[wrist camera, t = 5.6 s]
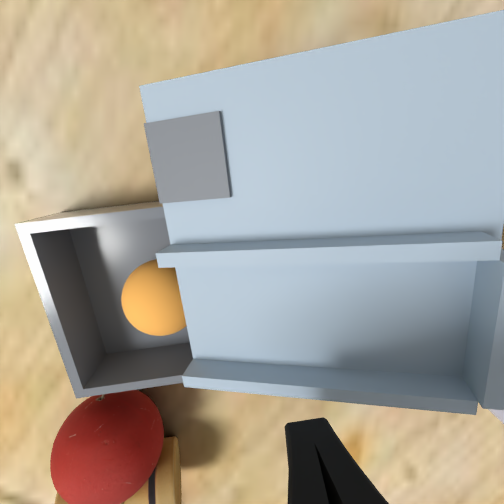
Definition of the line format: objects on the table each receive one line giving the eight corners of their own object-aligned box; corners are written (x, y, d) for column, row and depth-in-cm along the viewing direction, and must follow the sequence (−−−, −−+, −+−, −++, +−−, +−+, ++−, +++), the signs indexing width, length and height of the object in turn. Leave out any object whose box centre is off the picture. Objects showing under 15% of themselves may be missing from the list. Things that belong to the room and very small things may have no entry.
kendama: (209, 518, 25) (186, 371, 18) (188, 633, 20) (141, 486, 12) (127, 508, 26) (72, 364, 19) (84, 616, 20) (-19, 469, 13)
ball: (153, 248, 17) (209, 250, 15) (166, 308, 18) (219, 316, 16) (93, 272, 14) (157, 278, 12) (114, 344, 15) (174, 359, 13)
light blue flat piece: (517, 17, 8) (586, -33, 6) (468, 378, 12) (500, 426, 10) (151, 90, 11) (110, 74, 9) (201, 360, 15) (181, 393, 13)
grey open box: (229, 192, 16) (230, 198, 13) (248, 336, 19) (252, 372, 16) (60, 212, 16) (14, 223, 12) (103, 356, 18) (76, 398, 15)
